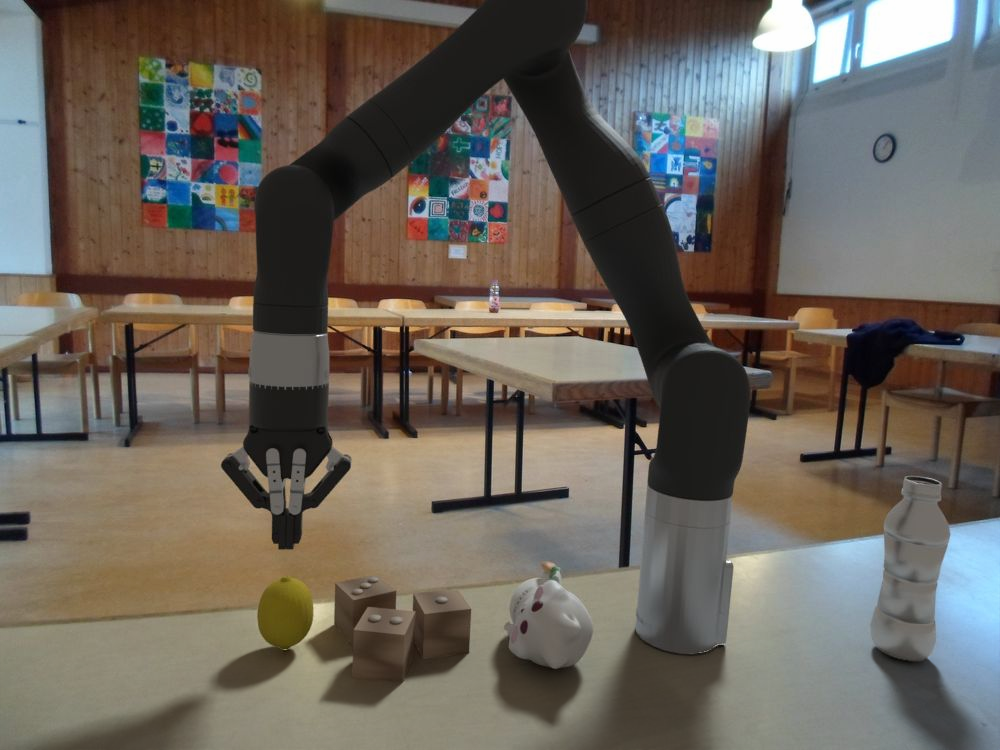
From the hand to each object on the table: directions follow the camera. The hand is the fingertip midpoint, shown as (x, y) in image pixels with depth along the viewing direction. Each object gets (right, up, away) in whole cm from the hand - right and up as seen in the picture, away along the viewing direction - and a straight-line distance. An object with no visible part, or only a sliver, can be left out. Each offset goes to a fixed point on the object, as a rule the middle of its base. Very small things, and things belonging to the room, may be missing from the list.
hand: (286, 546), depth 73 cm
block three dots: (+7, -11, +7) cm, 14 cm away
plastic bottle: (+66, -14, +8) cm, 68 cm away
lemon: (-1, -11, +1) cm, 11 cm away
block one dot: (+15, -12, +4) cm, 20 cm away
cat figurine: (+26, -13, +3) cm, 30 cm away
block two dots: (+10, -12, -1) cm, 16 cm away
